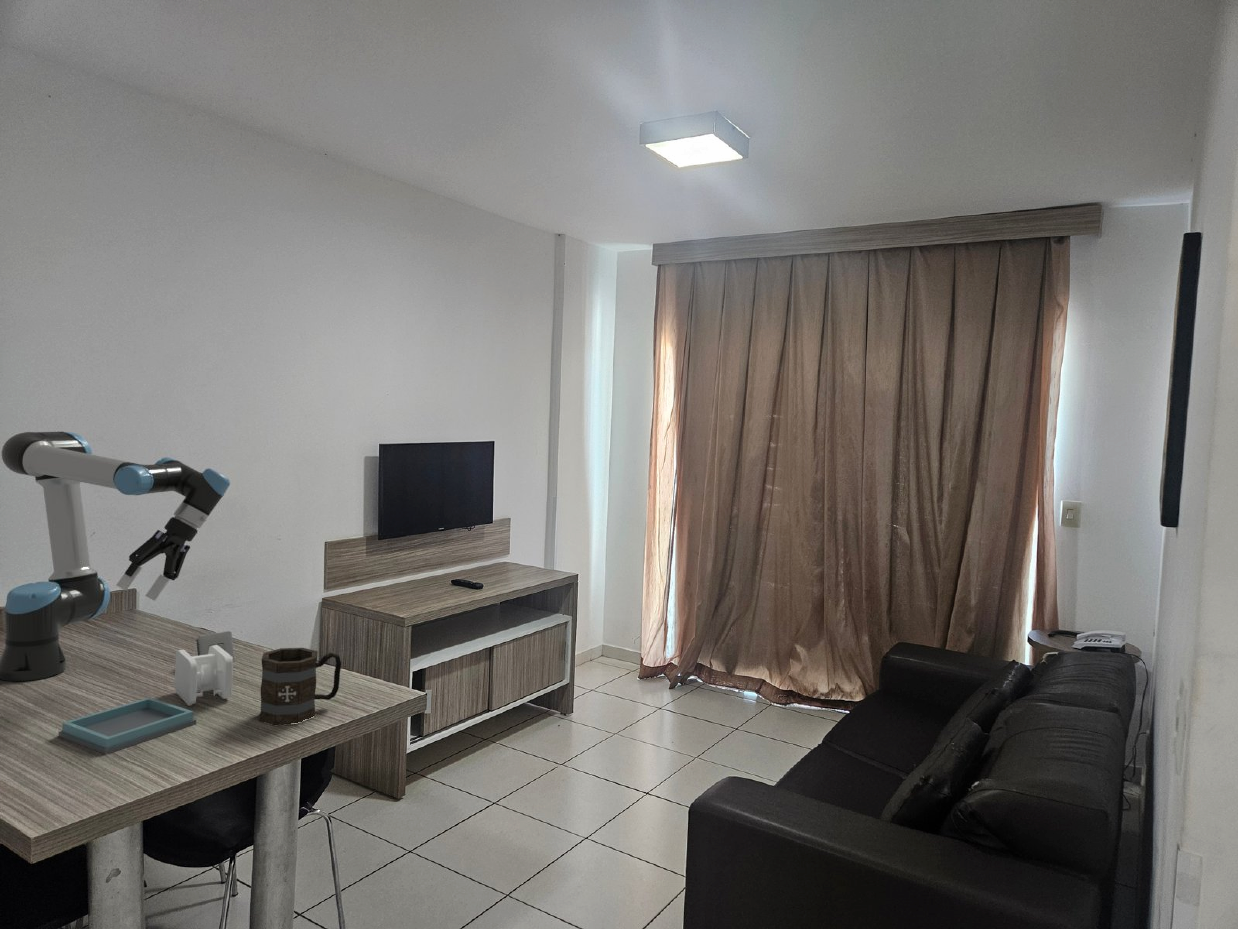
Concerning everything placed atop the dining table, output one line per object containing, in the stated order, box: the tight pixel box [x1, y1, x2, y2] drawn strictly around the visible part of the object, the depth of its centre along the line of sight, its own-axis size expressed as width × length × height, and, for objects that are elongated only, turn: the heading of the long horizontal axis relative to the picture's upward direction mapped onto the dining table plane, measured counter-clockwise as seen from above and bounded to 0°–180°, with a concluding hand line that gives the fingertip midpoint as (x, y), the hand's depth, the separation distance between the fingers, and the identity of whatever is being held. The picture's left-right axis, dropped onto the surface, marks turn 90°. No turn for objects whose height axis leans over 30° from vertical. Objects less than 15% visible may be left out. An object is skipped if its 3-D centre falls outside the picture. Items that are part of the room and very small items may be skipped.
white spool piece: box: [174, 645, 234, 707], centre depth 208 cm, size 15×11×12 cm
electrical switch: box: [195, 630, 235, 663], centre depth 233 cm, size 9×5×9 cm, turn 141°
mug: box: [258, 647, 342, 726], centre depth 201 cm, size 20×14×15 cm
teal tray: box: [58, 697, 197, 755], centre depth 185 cm, size 17×21×3 cm
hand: (135, 593), depth 211 cm, fingers open, 13 cm apart
